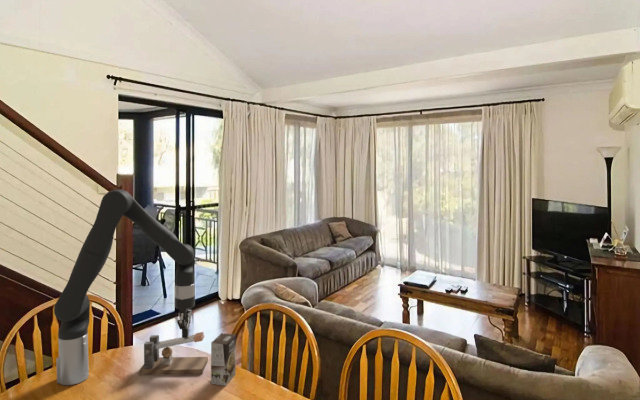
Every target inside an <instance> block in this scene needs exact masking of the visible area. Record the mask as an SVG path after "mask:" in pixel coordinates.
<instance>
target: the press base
mask: <svg viewBox="0 0 640 400" xmlns="http://www.w3.org/2000/svg"><path fill="white" fill-rule="evenodd" d="M156 342H160V335H158V334H152V335H150V337H149V341H145V342H144V343H143V364H142V366H141V367H140V369H139V370H138V371H139V372H138V375H139V376H161V375H162V376H165V375H166V376H167V375H169V376H173V375H175V376H177V375H178V376H179V375H203V373H204V371H205V368H206V367H207V364H208V362H209V357H208V356H176V357H174V356H173V355H172V354H173V349H172V348H171V346H170V347H165V348H162V351H161V356H162V357H160V349H155V350H154V343H156Z"/></svg>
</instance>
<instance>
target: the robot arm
mask: <svg viewBox="0 0 640 400" xmlns="http://www.w3.org/2000/svg"><path fill="white" fill-rule="evenodd" d="M123 216H124V217H125V218H127V219H129V221H132V223H133V224H134V225H136V226H137V227H138V228H139V229H140V230H141V232H142V233H143V234H144V235H145V236H146V237H147V239H149V240H151V242H153V243H154V244H155V245H156V246H158V247H159V248H161V249H162V250H163V251H164V252H165V253H166V254H167V255H168V256H169V257H170V258H171V259H172V260H173V261H174V262H176V263H175V264H176V270H175V279H174V280H175V281H174V283H175V287H174V307H175V309H177V310H179V312H178V318H179V319H177V321H176V322H177V325H178V328H179V330H181V337H182V338H187V337H188V336H190V335H189V327H190V324H191V320H192V314H193V309H192V308H194V307H195V305H196V294H195V293H196V290H195V273H194V272H195V271H194V265H195V250H194V248H193V246H191V245H190V244H188V243H187V244H186V243H185V244H184V243H183V242H182V241H180V240H179V239H178V237H177V236H176V234H175V233H173V232H172V231H171V230H170V229H168V228H167V227H166V226H164V225H163V224H162V223H161V222H160V221H158V219H156V218H154V217H153V216H152V215H150V214H149V212H147V211H146V210H145V209H144V207H142V206H141V205H140V204H139V203H138V202H137V200H136V199H135V198H134V197H133V196H132V195H131V194H130V193H129V191H127V190H124V189H122V188H121V189H120V188H119V189H112V190H110V191H108V192H106V193H105V194H104V195H103V197H102V199H101V201H100V205H99V208H98V211H97V215H96V217H95V220H94V222H93V225H92V227H91V228H90V231H89V232H88V234H87V236H86V238H85V240H84V243H82V247H81V248H80V251H79V253H78V256H77V259H75V260H76V261H75V262H74V265H73V268H72V271H71V274H70V276H69V277H68V281H67V283H66V285H65V287H64V289H63V291H62V292H61V294H60V295H59V297H58V299H57V301H56V302H55V304H54V308H53V311H54V312H53V313H54V316H55V318H56V319H57V320H59V321H61V324H60V327H59V329H58V333H57V335H58V336H57V337H58V338H57V339H58V357H56V359H55V360H56V365H55V366H56V384H60V385H62V386H72V385H76V384H77V385H78V384H80V383H82V382H84V381H86V380H87V379H88V378H89V376H90V375H89V373H90V371H89V333H88V332H89V331H88V330H89V329H88V328H89V325H90V315H91V314H90V312H91V311H90V310H91V308H90V300H89V299H90V298H89V296H88V295H87V293H88V291H89V290H90V287H91V286H92V284H93V282H94V281H95V279H96V278H97V277H98V276H99V274H100V273H101V271H102V269H103V267H105V266H104V265H105V264H106V262H107V259H108V257H109V254H110V253H111V250H112V246H113V241H114V235H115V232H116V229H117V227H118V225H119V223H120V221H121V219H122V218H123Z"/></svg>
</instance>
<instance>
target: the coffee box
mask: <svg viewBox="0 0 640 400" xmlns="http://www.w3.org/2000/svg"><path fill="white" fill-rule="evenodd" d="M210 344H211V349H210V352H211V353H210V356H211V357H210V384H212V385H218V386H223V387H225V386H227V385H228V384H229V382H231V380H232V379H233V377H235V375H236V374H237V373H236V372H237V371H236V370H237V367H236V366H237V359H236V357H237V352H236V351H237V334H234V333H222V332H221V334H219V335H218V336H217V337H216V338H215V339H214V340H213V341H211V343H210Z"/></svg>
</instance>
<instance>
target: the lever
mask: <svg viewBox="0 0 640 400" xmlns="http://www.w3.org/2000/svg"><path fill="white" fill-rule="evenodd" d="M204 338H205V334H204V331H202V332H196V333H195V334H191V335H188V337H187V338H182V336H181V337H176V338H173V339H165V340H162V341H159V342H156V343H154V350H155V349H159V350H160V349H164V348H166V347H170V348H171V347H174V346H179V345H185V344H188V343H199V342H203V340H204Z"/></svg>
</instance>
